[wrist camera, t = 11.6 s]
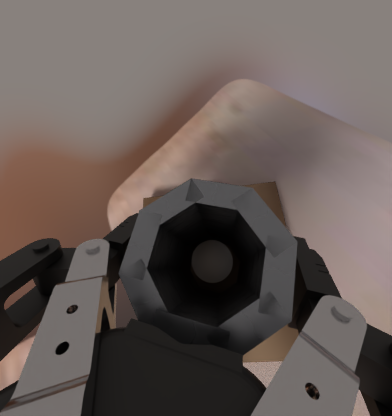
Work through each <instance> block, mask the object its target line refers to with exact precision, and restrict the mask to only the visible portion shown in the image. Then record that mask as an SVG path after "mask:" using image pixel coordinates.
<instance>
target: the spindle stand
mask: <svg viewBox="0 0 392 416" xmlns="http://www.w3.org/2000/svg"><path fill="white" fill-rule="evenodd" d="M244 187H251V188H253V189H254V190H255V191H256V192H257V194H258V195H259V196H260V197H261V198H262V200H263V201H264V202H265V203H266V204H267V206H268V207H269V208H270V209H271V210H272V212H273V213H274V214H275V215H276V216H277V218H278V219H279V220H280V221H281V222H282V224H283V225H284V226H285V227H286V224H285V220H284V216H283V212H282V208H281V204H280V200H279V195H278V191H277V187H276V183H275V182H268V183H260V184H253V185H245V186H244ZM161 197H162V196H157V197H150V198H144V200H143V208H144V207H146V206H148V205H149V204H151V203H152V202H154V201H156V200H157V199H159V198H161ZM239 264H240V261H239V260H238V258H237V257H236V255H235V254H234V252H233V251H232V249H231V248H230V246H229V245H226V244H223V243H221V242H219V241H215V240H209V241H205V242H203V243H201V244H200V245H198V246H197V247H196V249H195V250H194V252H193V255H192V265H191V269H190V271H191V273H192V274H193V276H194V278H195V280H196V281H197V283H198V285H199V287H200V288H202V289H206V290H209V291H213V292H217V293H221V292H223V291H224V290H226V289H227V288H229V287H230V286H232V285H233V284H235V283H236V282H237V277H238V271H239ZM298 335H299V333H298V330H297V329H294V328H290V327H288V324H287V325H286V326H284V327H283V328H281V329H280V330H279V331H277V332H276V333H274V334H273V335H272V336H270V337H269V338H267V339H266V340H264V341H263V342H262V343H260V344H259V345H257V346H256V347H255V348H253V349H252V350H250V351H249V352H247V353H246V354H245V355H243V362H270V361H284V359H285V357H286V356H287V354H288V352H289V351H290V349H291V347H292V346H293V344H294V342H295V340H296V339H297V337H298Z"/></svg>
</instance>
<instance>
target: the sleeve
mask: <svg viewBox="0 0 392 416" xmlns="http://www.w3.org/2000/svg"><path fill="white" fill-rule="evenodd" d="M209 240H215V241H219V242H221V243H223V244H226V245H229V246H230V248H231V249H232V251H233V252H234V254H235V255H236V257H237V258H238V260H239V261H240V264H239V271H238V277H237V282H236V283H235V284H233V285H232V286H230V287H229V288H227V289H226V290H224V291H223V292H221V293H217V292H213V291H209V290H206V289H202V288H200V287H199V285H198V283H197V281H196V280H195V278H194V276H193V274H192V273H191V271H190V269H191V265H192V255H193V252H194V250H195V249H196V247H197V246H198V245H200V244H201V243H203V242H205V241H209ZM297 242H298V241H297V240H296V239H295V238H294V237H293V236H292V234H291V233H290V232H289V231H288V230H287V228H286V227H285V226H284V225H283V224H282V222H281V221H280V220H279V219H278V218H277V216H276V215H275V214H274V213H273V212H272V210H271V209H270V208H269V207H268V206H267V204H266V203H265V202H264V201H263V200H262V198H261V197H260V196H259V195H258V194H257V192H256V191H255V190H254V189H253V188H251V187H244V186H237V185H231V184H224V183H218V182H211V181H205V180H198V179H192V178H191V179H190V180H188V181H186V182H185V183H183V184H182V185H180V186H178V187H177V188H175V189H173V190H172V191H170V192H169V193H167V194H165V195H164V196H162V197H161V198H159V199H157V200H156V201H154V202H152V203H151V204H149V205H148V206H146V207H144V208H143V209H141V210H140V211H139V214H138V217H137V220H136V223H135V226H134V229H133V232H132V235H131V238H130V241H129V244H128V247H127V250H126V253H125V256H124V259H123V261H122V264H121V267H120V270H119V273H118V274H119V276H120V278H121V281H122V283H123V285H124V288H125V290H126V292H127V295H128V297H129V300H130V302H131V304H132V307H133V309H134V311H135V314H136V316H137V318H138V321H141V322H144V323H147V324H150V325H153V326H156V327H158V328H159V329H161V330H162V331H163V332H165V333H166V334H168V335H169V336H171V337H172V338H173V339H175V340H176V341H178V342H179V343H182V344H196V345H214V346H217V347H220V348H223V349H226V350H229V351H232V352H236V353H239V354H242V355H245V354H246V353H247V352H249V351H250V350H252V349H253V348H255V347H256V346H257V345H259V344H260V343H262V342H263V341H264V340H266V339H267V338H269V337H270V336H272V335H273V334H274V333H276V332H277V331H279V330H280V329H281V328H283V327H284V326H286V325H287V324H288V323H290V322H292V309H293V296H294V283H295V269H296V256H297Z"/></svg>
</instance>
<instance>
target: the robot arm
mask: <svg viewBox="0 0 392 416" xmlns="http://www.w3.org/2000/svg"><path fill="white" fill-rule="evenodd" d="M137 217H138V213H136V214H134V215H132V216H129V217H128V218H127V219H126V220H124V222H122V223H121V224H120V225H119V226H117V227H116V228H115V229H114V230H113V231H111V232H110V233H109V234H108V235H107V236H106V237H104V238H103V239H93V240H89V241H86V242H84V243H82V244H81V245H79V246H78V247H77V248H61V245H60V242H59V240H57V239H53V238H47V239H42V240H38V241H35V242H33V243H31V244H29V245H27V246H25V247H24V248H22V249H20V250H18V251H17V252H15V253H13V254H11V255H10V256H8V257H6V258H5V259H3V260H1V261H0V361H1V360H2V359H3V358H4V357H5V356H6V355H7V354H8V353H9V352H10V351H11V350H12V349H13V348H14V347H15V346H16V345H17V344H18V343H19V342H20V341H22V340H23V338H25V337H26V336H27V335H28V334H29V333H30V332H31V331H32V330H33V329H34V328H35V327H36V326H37V325H38V324H39V323H40V322H41V324H40V326H39V329H38V331H37V334H36V336H35V339H34V342H33V344H32V347H31V349H30V352H29V355H28V357H27V360H26V363H25V365H24V368H23V370H22V373H21V376H20V378H19V380H18V381H16V382H15V383H13V384H11V385H9V386H8V387H6V388H4V389H3V390H1V391H0V416H352V413H353V409H354V405H355V401H356V397H357V393H358V389H359V390H360V391H361V393H362V396H363V398H364V401H365V403H366V406H367V408H368V411H369V413H370V416H392V336H391V335H389V334H387V333H385V332H383V331H381V330H379V329H377V328H375V327H373V326H371V325H369V324H367V323H366V320H365V318H364V317H363V315H362V314H361V313H360V312H359V311H358V310H357V309H356V308H355V307H354V306H353V305H352V304H350V303H349V302H347V301H345V300H343V299H342V297H341V295H340V293H339V291H338V289H337V287H336V285H335V283H334V281H333V279H332V277H331V275H330V274H329V271H328V269H327V267H326V265H325V263H324V261H323V259H322V257H321V256H320V255H319V254H318V253H317V252H316V251H315V250H312V249H309V247H308V245H307V243H306V240H305V239H304V238H300V237H295V236H293V237H294V238H295V239H296V240H297V241H298V242H297V256H296V269H295V283H294V296H293V309H292V322H290V323H288V327H290V328H294V329H297V330H298V333H299V335H298V337H297V339H296V340H295V342H294V344H293V346H292V347H291V349H290V351H289V352H288V354H287V356H286V357H285V359H284V361H283V362H282V364H281V366H280V367H279V369H278V371H277V372H276V374H275V376H274V377H273V379H272V381H271V382H270V384H269V386H268V387H267V388H266V387H265V386H264V385H263V384H262V382H261V381H260V380H259V379H258V378H257V377H256V376H255V375H254V374H253V373H251V372H250V371H249V370H248V369H247V368H245V367H244V366H243V355H242V354H239V353H236V352H232V351H229V350H226V349H223V348H220V347H217V346H214V345H196V344H182V343H179V342H178V341H176V340H175V339H173V338H172V337H171V336H169V335H168V334H166V333H165V332H163V331H162V330H161V329H159V328H158V327H156V326H153V325H150V324H147V323H144V322H141V321H138V320H135V319H131V320H130V322H129V324H128V325H127V327H120V328H116V325H115V314H116V291H117V285H116V282H117V281H118V280H119V278H120V276H119V274H118V273H119V270H120V267H121V264H122V261H123V259H124V256H125V253H126V250H127V247H128V244H129V241H130V238H131V235H132V232H133V229H134V226H135V223H136V220H137ZM31 279H33V280H34V283H35V285H36V286H35V287H34V288H33V289H32V290H30V291H29V292H28V293H27V294H25V295H24V296H23V297H21V298H20V299H19V300H18V301H16V302H15V303H14V304H13V305H11V306H10V307H9V308H8V309H6V310H5V309H4V303H5V301H6V300H7V298H8V297H9V296H10V295H11V294H12V293H14V292H15V291H17V290H18V289H19V288H21V287H22V286H23V285H25V284H26V283H27V282H28V281H30V280H31Z"/></svg>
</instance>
